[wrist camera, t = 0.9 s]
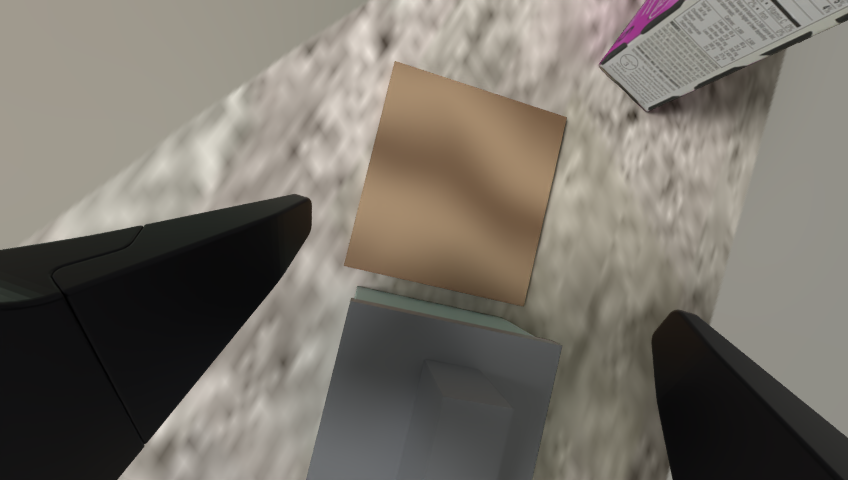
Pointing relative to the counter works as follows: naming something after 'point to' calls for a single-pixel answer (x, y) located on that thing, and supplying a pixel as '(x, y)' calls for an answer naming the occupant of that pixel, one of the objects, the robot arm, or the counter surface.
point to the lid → (432, 399)
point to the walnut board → (455, 187)
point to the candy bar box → (707, 41)
